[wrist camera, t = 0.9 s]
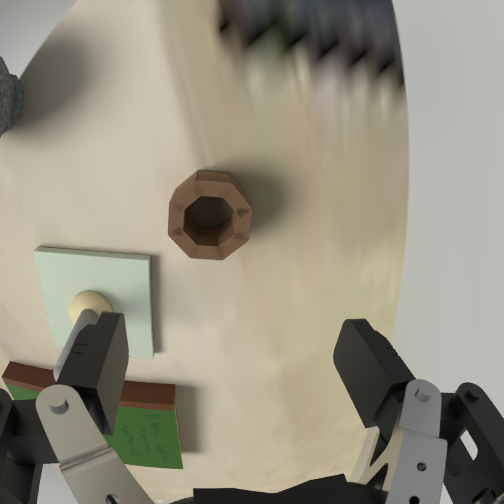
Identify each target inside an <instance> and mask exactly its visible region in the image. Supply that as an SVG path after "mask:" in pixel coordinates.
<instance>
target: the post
mask: <svg viewBox="0 0 504 504" xmlns="http://www.w3.org/2000/svg"><path fill="white" fill-rule="evenodd" d="M33 252H34V258H35V264H36V270H37V275H38V280H39V285H40V290H41V294H42V299H43V303H44V307H45V311H46V315H47V319H48V322H49V326H50V330H51V333H52V337H53V340H54V343H55V346H57V347H63V350H62V352H61V354H60V357H59V359H58V361H57V363H56V365H55V368H54V371H53V374H54V378H55V380H56V382H57V379H58V377H59V375H60V372H61V370H62V368H63V365H64V363H65V361H66V358H67V356H68V354H69V353H70V349H71V347H72V345H74V341H75V339H76V337H77V334H78V332H79V331H81V330H82V329H83V328H84V327H85V326H86V325H87V324H94V325H96V324H97V321H98V319H99V317H100V315H101V313H102V311H107V312H118V313H123V314H124V317H125V324H126V332H127V340H128V347H129V357H135V358H145V359H153V358H154V343H153V327H152V307H151V275H150V255H136V254H123V253H110V252H97V251H84V250H71V249H59V248H47V247H37V248H36V249H35V250H34V251H33Z"/></svg>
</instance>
